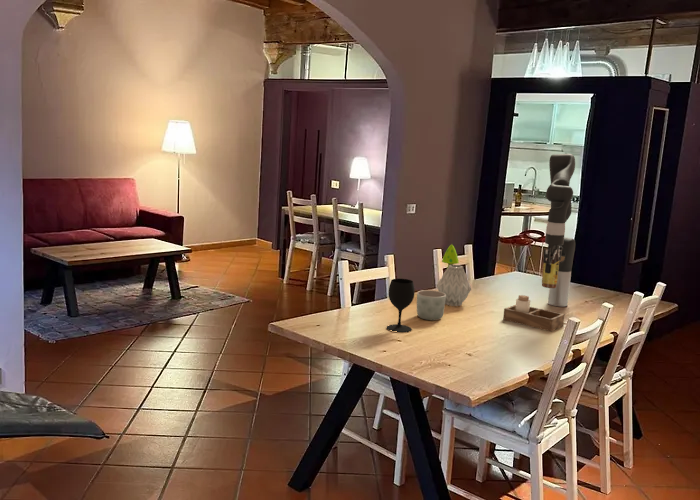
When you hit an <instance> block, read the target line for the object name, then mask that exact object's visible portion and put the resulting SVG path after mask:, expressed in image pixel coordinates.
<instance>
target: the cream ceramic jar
mask: <svg viewBox="0 0 700 500" xmlns="http://www.w3.org/2000/svg"><path fill="white" fill-rule="evenodd" d="M529 298H530V297H529V295H523V294H520V295H518V298H516V299H515V305H516V308H515V311H519V312H523V313H529V310H530V307H531V300H530V299H529Z"/></svg>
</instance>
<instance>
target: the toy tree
mask: <svg viewBox="0 0 700 500" xmlns="http://www.w3.org/2000/svg"><path fill="white" fill-rule="evenodd" d="M441 262H442V263H444V264H447V268H448V267H449V265H458V264H459V257H458V254H457V251H456V248H455V246H454V245H453V244H450V245H449V246H448V248H447V249H446V251H445V252H444V255H443V257H442V260H441ZM447 268H446V269H445V271H446V270H447Z"/></svg>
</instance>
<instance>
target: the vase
mask: <svg viewBox="0 0 700 500" xmlns="http://www.w3.org/2000/svg"><path fill="white" fill-rule="evenodd" d="M447 267H448V266H447ZM446 269H447V270H446ZM446 269H445V271H444V272H443V274H442V276H441V277H440V279H439V281H437V284H436V288H437V291H439V292H443V293H445V294H446V299H445V305H446V306H451V307H457V306H458V307H460V306H462V305H463V303H464V301H466V300H467V298H468V296H469V294H470V292H471V291H472V287H471V286H472V285H471V283H470V281H469V280H468V276H467V273H466V272H465V269H464V266H463V265H459V264H453V265H449V267H448V268H446Z"/></svg>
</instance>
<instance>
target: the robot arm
mask: <svg viewBox="0 0 700 500" xmlns="http://www.w3.org/2000/svg"><path fill="white" fill-rule="evenodd" d="M548 165H549V176H550V178H549V179H550V185H548V187H547V189H546V192H545V198H546V199H547V200H548V201H549V202H550V208H549V210H548V214H547V216H548V217H547V223H546V229H545V239H544V243H545V244H546V245H547V249H546V248H544V250H543V260H542V261H543V264H544V263H545V264H546V267H545V273H551V264H552V261H553V260H554V258H555V255H556V253H557V252H558V256H559V270H558V279H557V285H556V288H548V297H547V298H548V299H547V304H549V305H550V306H555V307H567V306H568V305H569V304H568V303H569V294H570V286H571V277H572V268H573V263H574V262H573V261H574V257H575V251H576V240H575V239H574V238H571V237H565V232H566V223H567V221H568V220H569V218H570V216H571V214H572V199H573V196H574V189H573V188H572V187H571V186H570V183H571V182H570V181H571V179H572V177H573V174H574V172H575V169H576V159H575V155H573V154H571V153H554V154H551V155H550V156H549V164H548ZM556 245H558V249H557V250H556V249H555V246H556ZM550 256H552V257H550ZM562 257H564V259H563V260H561V259H562ZM550 259H551V260H550Z"/></svg>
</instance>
